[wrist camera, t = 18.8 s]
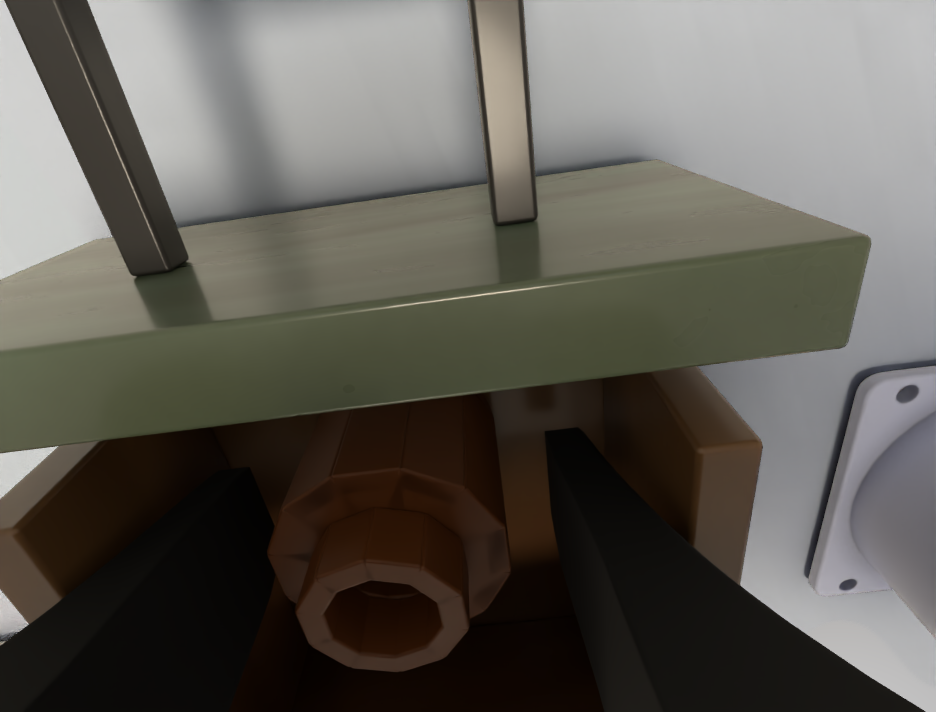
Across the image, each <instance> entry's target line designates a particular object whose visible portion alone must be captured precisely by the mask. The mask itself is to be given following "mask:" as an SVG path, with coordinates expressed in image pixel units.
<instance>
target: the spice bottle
mask: <svg viewBox="0 0 936 712" xmlns="http://www.w3.org/2000/svg"><path fill="white" fill-rule="evenodd" d="M267 553H268V554H267V555H268V558H269V560H270V563H271V565H272V567H273V569H274V572H275V574H276V576H277V578H278V581H279V583H280V585H281V587H282V590H283V592H284V594H285V595H286V596H287V598H288V599H290V600H291V601H293V602H294V603H296V611H295V613H296V616H297V618H298V620H299V623H300V625H301V627H302V630H303V632H304V634H305V636H306V639H307V641H308V643H309V644H310V645H311V646H312V647H313V648H315V649H316V650H318V651H320V652H322V653H324V654H325V655H327V656H329V657H331V658H333V659H335V660H336V661H338V662H340V663H342V664H344V665H345V666H347V667H351V668H356V669H367V670H378V671H389V672H399V671H401V672H403V671H406V670H410V669H413V668H416V667H419V666H422V665H425V664H429V663H432V662H435V661H438V660H441V659H443V658H444V657H447V655H448V654H449V653H450V652H451V651H452V649H453V648H454V647H455V646H456V645H457V643H458V642H459V641H460V640H461V639H462V637H463V636H464V635H465V634H466V633H467V631H468V629H469V626H470V619H471V618H473V617H475V616H476V615H478V614H480V613H482V612H484V611H485V610H486V609H488V607H489V606H490V604H491V603H492V601H493V600H494V598H495V597H496V595H497V594H498V592H499V591H500V589H501V587H502V586H503V584H504V583H505V581H506V580H507V578H508V577H509V575H510V573H511V569H512V565H511V557H510V548H509V540H508V531H507V522H506V514H505V505H504V496H503V488H502V479H501V471H500V462H499V453H498V446H497V438H496V429H495V422H494V417H493V414H492V411H491V409H490V406H489V404H488V402H487V401H486V399H485V397H484V396H483V395H482V393H479V394H471V395H463V396H455V397H447V398H439V399H431V400H423V401H415V402H407V403H399V404H391V405H383V406H375V407H367V408H359V409H351V410H343V411H335V412H327V413H320V415H319V418H318V420H317V423H316V425H315V428H314V430H313V432H312V435H311V437H310V440H309V442H308V444H307V447H306V449H305V452H304V454H303V456H302V459H301V461H300V464H299V466H298V468H297V471H296V473H295V476H294V478H293V481H292V483H291V485H290V488H289V490H288V493H287V495H286V497H285V500H284V502H283V505H282V507H281V509H280V512H279V516H278V519H277V522H276V525H275V528H274V531H273V534H272V537H271V540H270V543H269V546H268V549H267Z"/></svg>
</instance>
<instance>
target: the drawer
mask: <svg viewBox="0 0 936 712" xmlns="http://www.w3.org/2000/svg"><path fill="white" fill-rule="evenodd" d="M4 1H5V3H6V5H7V7H8V9H9V11H10V14H11V16H12V18H13V20H14V22H15V25H16V27H17V29H18V31H19V33H20V35H21V38H22V40H23V42H24V44H25V46H26V48H27V51H28V53H29V55H30V57H31V59H32V62H33V64H34V66H35V68H36V70H37V72H38V75H39V77H40V79H41V81H42V83H43V85H44V88H45V90H46V92H47V94H48V96H49V99H50V101H51V103H52V105H53V107H54V109H55V112H56V114H57V116H58V118H59V120H60V122H61V125H62V127H63V129H64V131H65V133H66V136H67V138H68V140H69V142H70V144H71V146H72V149H73V151H74V153H75V155H76V157H77V160H78V162H79V164H80V166H81V168H82V170H83V173H84V175H85V177H86V179H87V181H88V183H89V186H90V188H91V190H92V192H93V194H94V197H95V199H96V201H97V203H98V205H99V207H100V210H101V212H102V214H103V216H104V218H105V220H106V223H107V225H108V227H109V229H110V231H111V234H112V236H113V237H110V238H103V239H96V240H93V241H91V242H88V243H86V244H84V245H81V246H79V247H77V248H74V249H72V250H70V251H67V252H65V253H62V254H60V255H58V256H55V257H53V258H51V259H48V260H46V261H44V262H41V263H39V264H36V265H34V266H32V267H29V268H27V269H25V270H22V271H20V272H18V273H15V274H13V275H11V276H8V277H6V278H3V279H1V280H0V453H6V452H14V451H22V450H30V449H38V448H46V447H54V446H58V447H57V448H56V449H55V450H54V451H53V452H52V453H51V454H50V455H48V456H47V457H46V458H45V459H44V460H43V461H42V462H41V463H40V464H39V465H37V466H36V467H35V468H34V469H33V470H32V471H31V472H30V473H29V474H27V475H26V476H25V477H24V478H23V479H22V480H21V481H20V482H19V483H18V484H16V485H15V486H14V487H13V488H12V489H11V490H10V491H9V492H8V493H6V494H5V495H4V496H3V497H2V498H1V499H0V590H1V591H2V592H3V593H4V594H5V596H6V597H7V598H8V599H9V600H10V602H11V603H12V604H13V605H14V606H15V608H16V609H17V610H18V611H19V613H20V614H21V615H22V616H23V617H24V619H25V620H26V621H27V622H28V623H29V624H30V623H32V622H33V621H34V620H36V619H37V618H38V617H40V616H41V615H42V614H44V613H45V612H46V611H48V610H49V609H50V608H51V607H53V606H54V605H55V604H56V603H58V602H59V601H60V600H61V599H63V598H64V597H65V596H66V595H68V594H69V593H70V592H71V591H73V590H74V589H75V588H76V587H78V586H79V585H80V584H81V583H83V582H84V581H85V580H86V579H88V578H89V577H90V576H91V575H93V574H94V573H95V572H96V571H98V570H99V569H100V568H101V567H103V566H104V565H105V564H106V563H108V562H109V561H110V560H111V559H113V558H114V557H115V556H116V555H117V554H119V553H120V552H121V551H122V550H123V549H125V548H126V547H127V546H128V545H129V544H130V543H132V542H133V541H134V540H135V539H136V538H137V537H139V536H140V535H141V534H142V533H143V532H145V531H146V530H147V529H148V528H149V527H150V526H152V525H153V524H154V523H155V522H156V521H157V520H159V519H160V518H161V517H162V516H163V515H165V514H166V513H167V512H168V511H169V510H170V509H172V508H173V507H174V506H175V505H176V504H177V503H179V502H180V501H181V500H182V499H183V498H184V497H186V496H187V495H188V494H189V493H190V492H192V491H193V490H194V489H195V488H196V487H198V486H199V485H200V484H201V483H203V482H204V481H205V480H206V479H208V478H209V477H210V476H212V475H213V474H214V473H216V472H217V471H219V470H227V469H235V468H243V467H250V469H251V471H252V474H253V476H254V478H255V481H256V483H257V485H258V488H259V490H260V493H261V495H262V497H263V500H264V502H265V504H266V507H267V509H268V511H269V514H270V516H271V519H272V521H273V523H274V526H275V525H276V522H277V519H278V516H279V512H280V509H281V507H282V505H283V502H284V500H285V497H286V495H287V493H288V490H289V488H290V485H291V483H292V481H293V478H294V476H295V473H296V471H297V468H298V466H299V464H300V461H301V459H302V456H303V454H304V452H305V449H306V447H307V444H308V442H309V440H310V437H311V435H312V432H313V430H314V428H315V425H316V423H317V420H318V418H319V415H320V413H327V412H335V411H343V410H351V409H359V408H367V407H375V406H383V405H391V404H399V403H407V402H415V401H423V400H431V399H439V398H447V397H455V396H463V395H471V394H479V393H482V395H483V396H484V397H485V399H486V401H487V402H488V404H489V406H490V409H491V411H492V414H493V417H494V422H495V429H496V438H497V446H498V453H499V462H500V471H501V479H502V488H503V496H504V505H505V514H506V522H507V531H508V540H509V548H510V557H511V565H512V569H511V573H510V575H509V577H508V578H507V580H506V581H505V583H504V584H503V586H502V587H501V589H500V591H499V592H498V594H497V595H496V597H495V598H494V600H493V601H492V603H491V604H490V606H489V607H488V609H486V610H485V611H484V612H482V613H480V614H478V615H476V616H475V617H473V618H471V619H470V626H469V629H468V631H467V633H466V634H465V635H464V636H463V637H462V639H461V640H460V641H459V642H458V643H457V645H456V646H455V647H454V648H453V649H452V651H451V652H450V653H449V654H448V655H447V657H444V658H443V659H441V660H438V661H435V662H432V663H429V664H425V665H422V666H419V667H416V668H413V669H410V670H406V671H403V672H401V671H399V672H389V671H378V670H367V669H356V668H351V667H347V666H345V665H344V664H342V663H340V662H338V661H336V660H335V659H333V658H331V657H329V656H327V655H325V654H324V653H322V652H320V651H318V650H316V649H315V648H313V647H312V646H311V645H310V644H309V643H308V641H307V639H306V636H305V634H304V632H303V630H302V627H301V625H300V623H299V620H298V618H297V616H296V613H295V611H296V603H294V602H293V601H291V600H290V599H288V598H287V596H286V595H285V594H284V592H283V590H282V587H281V585H280V583H279V581H278V578H277V576H276V575H275V580H274V584H273V588H272V592H271V596H270V599H269V602H268V605H267V608H266V611H265V613H264V616H263V619H262V622H261V625H260V627H259V630H258V633H257V636H256V639H255V641H254V644H253V647H252V649H251V652H250V655H249V658H248V660H247V663H246V666H245V668H244V671H243V674H242V677H241V679H240V682H239V685H238V687H237V690H236V693H235V696H234V698H233V701H232V704H231V706H230V709H229V712H604V709H603V705H602V701H601V697H600V694H599V690H598V686H597V683H596V680H595V676H594V673H593V670H592V667H591V663H590V660H589V657H588V653H587V650H586V647H585V643H584V640H583V637H582V633H581V630H580V627H579V624H578V620H577V617H576V614H575V610H574V607H573V604H572V600H571V597H570V594H569V590H568V587H567V584H566V580H565V577H564V573H563V570H562V567H561V563H560V558H559V552H558V547H557V542H556V537H555V532H554V526H553V521H552V516H551V506H550V494H549V481H548V469H547V456H546V443H545V431H550V430H558V429H566V428H574V427H578V428H580V429H581V430H582V431H583V432H584V433H585V434H586V435H587V437H588V438H589V439H590V441H591V442H592V443H593V444H594V446H595V447H596V448H597V449H598V450H599V452H600V453H601V454H602V455H603V456H604V458H605V459H606V460H607V461H608V462H609V463H610V464H611V466H612V467H613V468H614V469H615V470H616V471H617V472H618V474H619V475H620V476H621V477H622V478H623V479H624V480H625V481H626V482H627V483H628V484H629V485H630V486H631V487H632V488H633V489H634V490H635V492H636V493H637V494H638V495H639V496H640V497H641V498H642V499H643V500H644V501H645V502H646V503H647V504H648V505H649V506H650V507H651V508H652V509H653V510H654V511H655V512H656V513H657V514H658V515H659V516H660V517H661V518H662V519H663V520H665V521H666V522H667V523H668V524H669V525H670V526H671V527H672V528H673V529H674V530H675V531H676V532H677V533H679V534H680V535H681V536H682V537H683V538H684V539H685V540H686V541H687V542H688V543H690V544H691V545H692V546H693V547H694V548H695V549H696V550H698V551H699V552H700V553H701V554H702V555H703V556H704V557H706V558H707V559H708V560H709V561H710V562H712V563H713V564H714V565H715V566H716V567H718V568H719V569H720V570H721V571H722V572H724V573H725V574H726V575H727V576H729V577H730V578H731V579H732V580H734V581H735V582H736V583H738V584H739V585H740V581H741V575H742V569H743V563H744V557H745V551H746V545H747V539H748V533H749V527H750V521H751V515H752V509H753V503H754V497H755V491H756V485H757V479H758V473H759V466H760V460H761V454H762V448H763V446H762V442H761V439H760V438H759V437H758V436H757V435H756V434H755V432H754V431H753V430H752V429H751V428H750V427H749V426H748V424H747V423H746V422H745V421H744V420H743V419H742V417H741V416H740V415H739V414H738V413H737V412H736V410H735V409H734V408H733V407H732V406H731V405H730V403H729V402H728V401H727V400H726V399H725V398H724V397H723V395H722V394H721V393H720V392H719V391H718V390H717V388H716V387H715V386H714V385H713V384H712V383H711V381H710V380H709V379H708V378H707V377H706V376H705V375H704V373H703V372H702V371H701V370H700V369H699V368H698V366H703V365H711V364H719V363H727V362H735V361H743V360H751V359H759V358H767V357H775V356H783V355H791V354H799V353H807V352H815V351H823V350H831V349H839V348H842V347H845V346H846V345H847V343H848V341H849V336H850V332H851V328H852V324H853V319H854V315H855V311H856V307H857V302H858V298H859V294H860V290H861V285H862V281H863V277H864V273H865V268H866V264H867V260H868V256H869V251H870V247H871V239H870V237H869V236H868V235H865V234H862V233H859V232H857V231H854V230H851V229H848V228H846V227H843V226H840V225H837V224H835V223H832V222H829V221H826V220H823V219H821V218H818V217H815V216H812V215H810V214H807V213H804V212H801V211H799V210H796V209H793V208H790V207H788V206H785V205H782V204H779V203H776V202H774V201H771V200H768V199H765V198H763V197H760V196H757V195H754V194H752V193H749V192H746V191H743V190H741V189H738V188H735V187H732V186H729V185H727V184H724V183H721V182H718V181H716V180H713V179H710V178H707V177H705V176H702V175H699V174H696V173H694V172H691V171H688V170H685V169H682V168H680V167H677V166H674V165H671V164H669V163H666V162H663V161H660V160H650V161H643V162H636V163H629V164H622V165H615V166H607V167H600V168H593V169H586V170H579V171H572V172H565V173H558V174H551V175H544V176H537V177H536V176H535V162H534V147H533V133H532V118H531V104H530V90H529V75H528V61H527V46H526V32H525V18H524V3H523V0H467V2H468V11H469V20H470V29H471V38H472V47H473V56H474V65H475V74H476V83H477V92H478V101H479V110H480V119H481V128H482V137H483V146H484V155H485V164H486V173H487V182H488V184H481V185H474V186H467V187H460V188H453V189H446V190H439V191H432V192H425V193H418V194H411V195H404V196H397V197H390V198H383V199H376V200H369V201H362V202H355V203H348V204H341V205H334V206H327V207H320V208H313V209H306V210H299V211H292V212H285V213H278V214H271V215H264V216H257V217H250V218H243V219H236V220H229V221H222V222H215V223H208V224H201V225H194V226H187V227H180V228H177V225H176V223H175V220H174V218H173V215H172V213H171V210H170V208H169V205H168V203H167V200H166V198H165V195H164V193H163V190H162V188H161V185H160V183H159V180H158V178H157V175H156V173H155V170H154V167H153V165H152V162H151V160H150V157H149V155H148V152H147V150H146V147H145V145H144V142H143V140H142V137H141V135H140V132H139V130H138V127H137V125H136V122H135V120H134V117H133V115H132V112H131V110H130V107H129V105H128V102H127V100H126V97H125V94H124V92H123V89H122V87H121V84H120V82H119V79H118V77H117V74H116V72H115V69H114V67H113V64H112V62H111V59H110V57H109V54H108V52H107V49H106V47H105V44H104V42H103V39H102V37H101V34H100V32H99V29H98V26H97V24H96V21H95V19H94V16H93V14H92V11H91V9H90V6H89V4H88V1H87V0H4Z"/></svg>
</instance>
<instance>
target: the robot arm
mask: <svg viewBox="0 0 936 712" xmlns="http://www.w3.org/2000/svg"><path fill="white" fill-rule="evenodd" d="M903 387H904V389H903V390H902V391H900V392H899V390H901V389H902V388H903ZM898 392H899V393H898ZM545 443H546V456H547V469H548V481H549V494H550V506H551V516H552V521H553V526H554V532H555V537H556V542H557V547H558V552H559V558H560V563H561V567H562V570H563V573H564V577H565V580H566V584H567V587H568V590H569V594H570V597H571V600H572V604H573V607H574V610H575V614H576V617H577V620H578V624H579V627H580V630H581V633H582V637H583V640H584V643H585V647H586V650H587V653H588V657H589V660H590V663H591V667H592V670H593V673H594V676H595V680H596V683H597V686H598V690H599V694H600V697H601V701H602V705H603V709H604V712H925V711H924V710H922V709H920V708H919V707H917V706H916V705H914V704H913V703H911V702H909V701H907V700H906V699H904V698H903V697H901V696H899V695H898V694H896V693H895V692H893V691H891V690H890V689H888V688H887V687H885V686H883V685H882V684H880V683H878V682H877V681H875V680H874V679H872V678H870V677H869V676H867V675H866V674H864V673H863V672H861V671H860V670H858V669H857V668H855V667H854V666H853V665H851V664H849V663H848V662H847V661H845V660H844V659H842V658H841V657H839V656H838V655H836V654H835V653H833V652H832V651H830V650H829V649H827V648H826V647H824V646H823V645H822V644H820V643H819V642H817V641H815V640H814V639H813V638H811V637H810V636H808V635H807V634H805V633H804V632H802V631H801V630H799V629H798V628H796V627H795V626H793V625H792V624H791V623H789V622H788V621H786V620H785V619H784V618H782V617H781V616H780V615H778V614H777V613H776V612H774V611H773V610H772V609H770V608H769V607H768V606H766V605H765V604H764V603H762V602H761V601H760V600H758V599H757V598H756V597H754V596H753V595H752V594H750V593H749V592H748V591H746V590H745V589H744V588H743V587H741V586H740V585H739V584H738V583H736V582H735V581H734V580H732V579H731V578H730V577H729V576H727V575H726V574H725V573H724V572H722V571H721V570H720V569H719V568H718V567H716V566H715V565H714V564H713V563H712V562H710V561H709V560H708V559H707V558H706V557H704V556H703V555H702V554H701V553H700V552H699V551H698V550H696V549H695V548H694V547H693V546H692V545H691V544H690V543H688V542H687V541H686V540H685V539H684V538H683V537H682V536H681V535H680V534H679V533H677V532H676V531H675V530H674V529H673V528H672V527H671V526H670V525H669V524H668V523H667V522H666V521H665V520H663V519H662V518H661V517H660V516H659V515H658V514H657V513H656V512H655V511H654V510H653V509H652V508H651V507H650V506H649V505H648V504H647V503H646V502H645V501H644V500H643V499H642V498H641V497H640V496H639V495H638V494H637V493H636V492H635V490H634V489H633V488H632V487H631V486H630V485H629V484H628V483H627V482H626V481H625V480H624V479H623V478H622V477H621V476H620V475H619V474H618V472H617V471H616V470H615V469H614V468H613V467H612V466H611V464H610V463H609V462H608V461H607V460H606V459H605V458H604V456H603V455H602V454H601V453H600V452H599V450H598V449H597V448H596V447H595V446H594V444H593V443H592V442H591V441H590V439H589V438H588V437H587V435H586V434H585V433H584V432H583V431H582V430H581V429H580V428H578V427H574V428H566V429H558V430H550V431H545ZM274 528H275V526H274V523H273V521H272V519H271V516H270V514H269V511H268V509H267V507H266V504H265V502H264V500H263V497H262V495H261V493H260V490H259V488H258V485H257V483H256V481H255V478H254V476H253V474H252V471H251V469H250V467H243V468H235V469H227V470H219V471H217V472H216V473H214V474H213V475H212V476H210V477H209V478H208V479H206V480H205V481H204V482H203V483H201V484H200V485H199V486H198V487H196V488H195V489H194V490H193V491H192V492H190V493H189V494H188V495H187V496H186V497H184V498H183V499H182V500H181V501H180V502H179V503H177V504H176V505H175V506H174V507H173V508H172V509H170V510H169V511H168V512H167V513H166V514H165V515H163V516H162V517H161V518H160V519H159V520H157V521H156V522H155V523H154V524H153V525H152V526H150V527H149V528H148V529H147V530H146V531H145V532H143V533H142V534H141V535H140V536H139V537H137V538H136V539H135V540H134V541H133V542H132V543H130V544H129V545H128V546H127V547H126V548H125V549H123V550H122V551H121V552H120V553H119V554H117V555H116V556H115V557H114V558H113V559H111V560H110V561H109V562H108V563H106V564H105V565H104V566H103V567H101V568H100V569H99V570H98V571H96V572H95V573H94V574H93V575H91V576H90V577H89V578H88V579H86V580H85V581H84V582H83V583H81V584H80V585H79V586H78V587H76V588H75V589H74V590H73V591H71V592H70V593H69V594H68V595H66V596H65V597H64V598H63V599H61V600H60V601H59V602H58V603H56V604H55V605H54V606H53V607H51V608H50V609H49V610H48V611H46V612H45V613H44V614H42V615H41V616H40V617H38V618H37V619H36V620H34V621H33V622H32V623H30V624H29V625H28V626H26V627H25V628H24V629H22V630H21V631H20V632H18V633H17V634H16V635H14V636H13V637H11V638H10V639H9V640H7V641H6V642H4V643H3V644H2V645H0V712H229V709H230V706H231V704H232V701H233V698H234V696H235V693H236V690H237V687H238V685H239V682H240V679H241V677H242V674H243V671H244V668H245V666H246V663H247V660H248V658H249V655H250V652H251V649H252V647H253V644H254V641H255V639H256V636H257V633H258V630H259V627H260V625H261V622H262V619H263V616H264V613H265V611H266V608H267V605H268V602H269V599H270V596H271V592H272V588H273V584H274V580H275V575H276V574H275V572H274V569H273V567H272V565H271V563H270V560H269V558H268V555H267V554H268V553H267V549H268V546H269V543H270V540H271V537H272V534H273V531H274ZM808 583H809V584H810V585H811V587H812V588H813V590H814V591H815V592H816V593H817V594H818V595H821V596H835V595H844V594H854V593H864V592H873V591H883V590H892V589H893V590H894V592H895V593H896V594H897V595H898V596H899V597H900V598H901V600H902V601H903V602H904V603H905V604H906V605H907V607H908V608H909V609H910V610H911V611H912V612H913V613H914V615H915V616H916V617H917V618H918V619H919V620H920V621H921V623H922V624H923V625H924V626H925V627H926V628H927V630H928V631H929V632H930V633H931V634H932V635H933V636H934V638H935V639H936V366H928V367H920V368H911V369H903V370H895V371H887V372H880V373H877V374H873V375H871V376H869V377H868V378H866V379H865V380H864V381H863V382H862V383H861V384H860V385H859V387H858V389H857V391H856V395H855V398H854V402H853V406H852V410H851V414H850V418H849V422H848V426H847V430H846V434H845V437H844V441H843V445H842V449H841V453H840V457H839V461H838V465H837V469H836V473H835V476H834V480H833V484H832V488H831V492H830V496H829V500H828V504H827V508H826V512H825V516H824V519H823V523H822V527H821V531H820V535H819V539H818V543H817V547H816V551H815V555H814V558H813V562H812V566H811V570H810V574H809V578H808Z"/></svg>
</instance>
